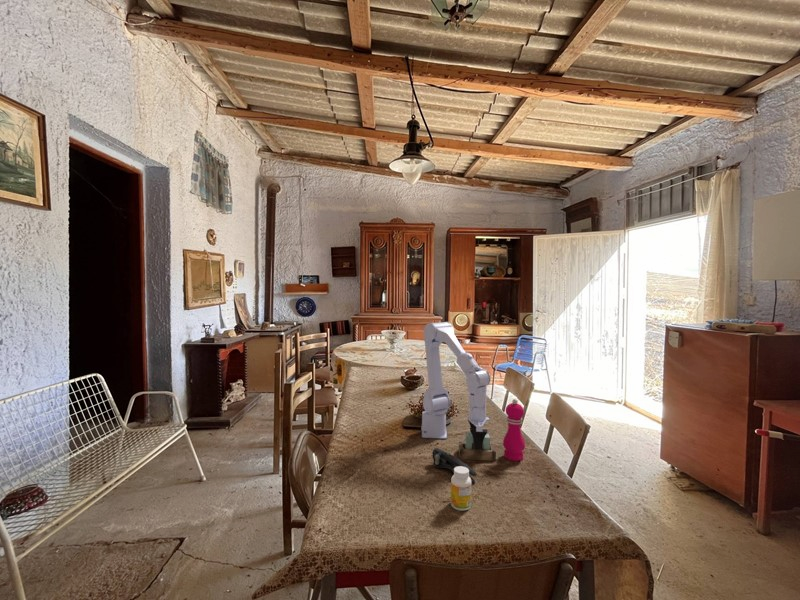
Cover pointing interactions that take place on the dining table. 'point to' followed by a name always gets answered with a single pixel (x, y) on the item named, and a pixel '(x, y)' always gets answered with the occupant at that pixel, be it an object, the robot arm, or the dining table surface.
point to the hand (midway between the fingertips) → (476, 444)
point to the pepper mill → (514, 432)
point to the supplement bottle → (461, 489)
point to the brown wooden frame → (477, 453)
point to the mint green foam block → (470, 440)
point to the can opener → (449, 462)
